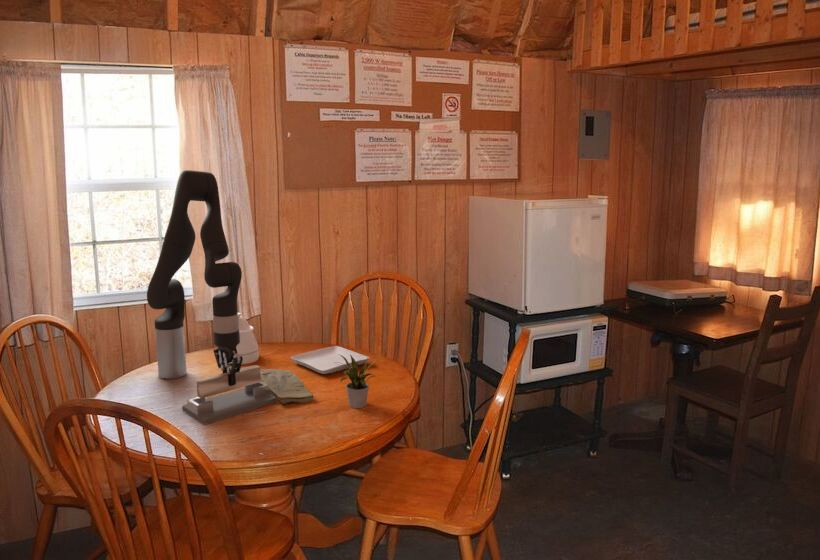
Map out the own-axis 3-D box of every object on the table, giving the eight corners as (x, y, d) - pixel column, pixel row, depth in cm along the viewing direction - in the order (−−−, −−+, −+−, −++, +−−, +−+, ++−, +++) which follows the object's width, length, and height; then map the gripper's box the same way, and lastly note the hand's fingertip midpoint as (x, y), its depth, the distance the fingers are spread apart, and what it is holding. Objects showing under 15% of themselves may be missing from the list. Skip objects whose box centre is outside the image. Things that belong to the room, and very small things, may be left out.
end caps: (188, 409, 196) (187, 399, 195) (258, 389, 212) (258, 380, 212) (197, 415, 192) (197, 405, 191) (269, 394, 208) (268, 385, 208)
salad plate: (289, 364, 242) (288, 355, 241) (336, 352, 256) (336, 344, 255) (322, 379, 226) (322, 370, 226) (371, 366, 240) (371, 357, 240)
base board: (182, 410, 199) (181, 405, 199) (252, 390, 216) (252, 385, 215) (204, 424, 189) (204, 419, 189) (276, 402, 206) (276, 397, 205)
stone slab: (286, 364, 233) (316, 388, 207) (287, 375, 234) (316, 401, 207) (251, 369, 227) (277, 395, 201) (252, 380, 228) (278, 408, 202)
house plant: (320, 407, 202) (319, 355, 199) (348, 393, 214) (347, 344, 210) (358, 417, 195) (358, 364, 191) (385, 402, 206) (384, 351, 203)
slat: (197, 396, 195) (196, 380, 194) (256, 379, 209) (255, 364, 208) (201, 398, 194) (200, 382, 193) (260, 381, 207) (260, 366, 206)
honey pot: (254, 364, 240) (251, 316, 237) (218, 364, 241) (216, 316, 237) (262, 353, 253) (260, 308, 249) (228, 353, 253) (226, 307, 250)
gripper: (249, 330, 195) (252, 386, 199) (225, 322, 205) (229, 375, 208) (226, 336, 190) (230, 393, 194) (203, 326, 200) (206, 381, 203)
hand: (229, 383), depth 201 cm, fingers closed on slat, 2 cm apart
